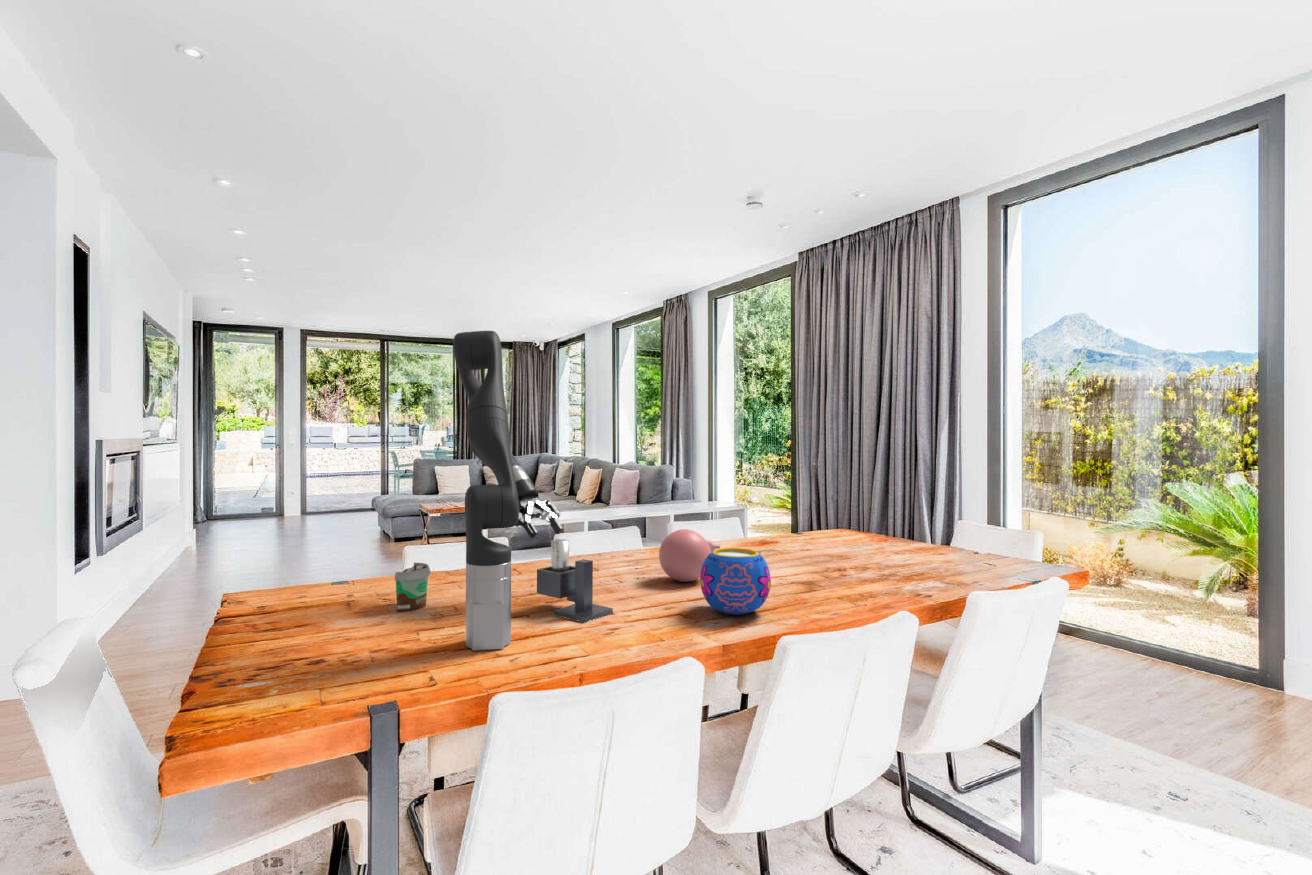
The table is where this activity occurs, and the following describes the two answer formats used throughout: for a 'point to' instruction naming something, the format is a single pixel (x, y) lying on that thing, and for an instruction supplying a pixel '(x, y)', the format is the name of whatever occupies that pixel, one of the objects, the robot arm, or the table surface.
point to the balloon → (684, 554)
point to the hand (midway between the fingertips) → (547, 534)
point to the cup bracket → (572, 590)
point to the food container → (412, 587)
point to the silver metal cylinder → (560, 555)
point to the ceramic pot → (735, 580)
